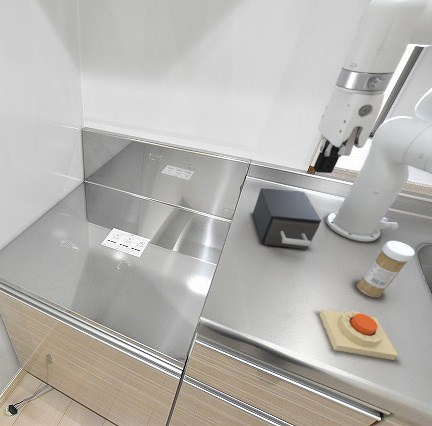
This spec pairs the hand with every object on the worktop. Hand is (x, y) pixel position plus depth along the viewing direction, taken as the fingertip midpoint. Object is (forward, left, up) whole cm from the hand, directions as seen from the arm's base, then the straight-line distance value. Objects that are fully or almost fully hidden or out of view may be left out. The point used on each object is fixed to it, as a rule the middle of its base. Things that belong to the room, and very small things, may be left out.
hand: (322, 170), depth 63 cm
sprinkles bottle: (-15, +10, -24) cm, 30 cm away
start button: (-7, +23, -21) cm, 32 cm away
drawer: (0, -5, -23) cm, 24 cm away
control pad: (-7, +23, -24) cm, 34 cm away
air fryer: (0, -9, -24) cm, 26 cm away
